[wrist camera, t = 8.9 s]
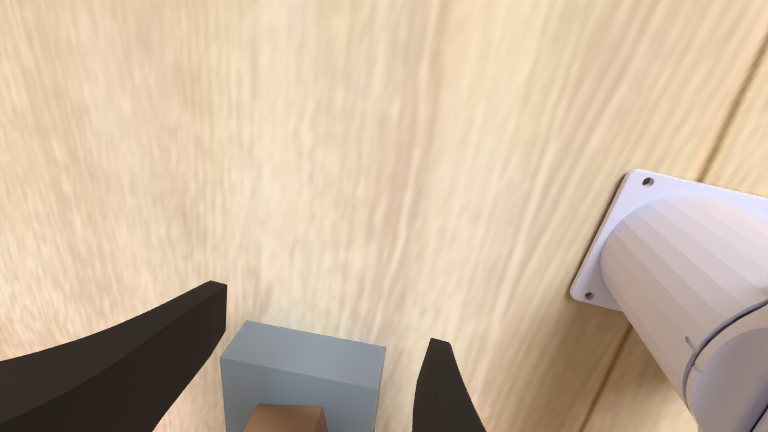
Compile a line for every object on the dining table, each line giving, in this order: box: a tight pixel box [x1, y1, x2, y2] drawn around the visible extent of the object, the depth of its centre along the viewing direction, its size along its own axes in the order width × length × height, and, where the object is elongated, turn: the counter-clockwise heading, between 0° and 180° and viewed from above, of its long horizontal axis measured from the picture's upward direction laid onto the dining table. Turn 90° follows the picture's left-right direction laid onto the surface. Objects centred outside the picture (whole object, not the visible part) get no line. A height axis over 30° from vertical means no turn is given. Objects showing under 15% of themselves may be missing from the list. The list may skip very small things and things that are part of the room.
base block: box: [220, 321, 386, 432], centre depth 28 cm, size 10×10×4 cm
